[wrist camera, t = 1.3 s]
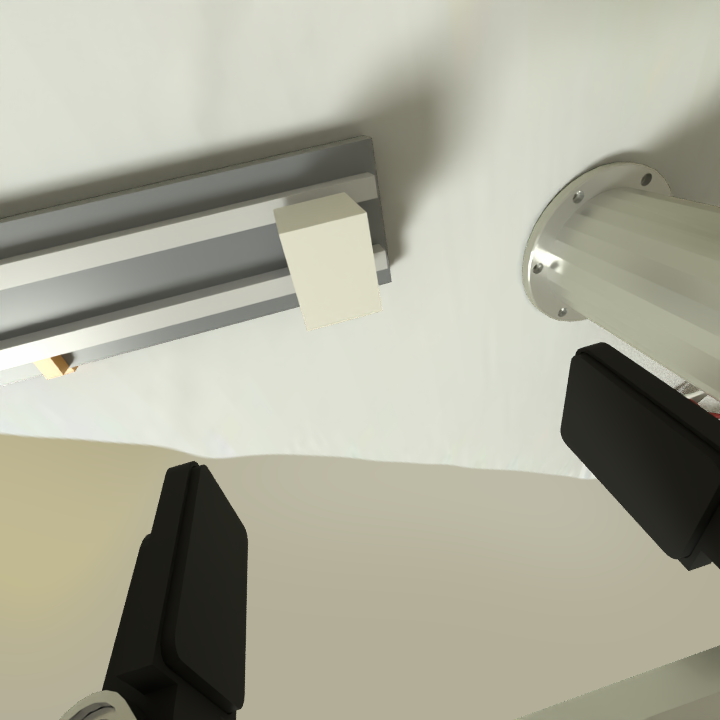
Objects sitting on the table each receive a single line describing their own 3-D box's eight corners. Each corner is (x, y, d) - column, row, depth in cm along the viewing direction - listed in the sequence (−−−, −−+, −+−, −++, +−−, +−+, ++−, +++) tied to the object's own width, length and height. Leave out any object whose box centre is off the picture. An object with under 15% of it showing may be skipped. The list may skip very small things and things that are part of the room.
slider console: (363, 135, 24) (378, 139, 21) (384, 276, 30) (398, 295, 27) (-107, 243, 22) (-161, 264, 19) (9, 376, 27) (-19, 408, 24)
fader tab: (337, 185, 23) (366, 212, 17) (353, 265, 26) (382, 310, 20) (271, 201, 23) (278, 234, 17) (294, 280, 26) (307, 331, 20)
